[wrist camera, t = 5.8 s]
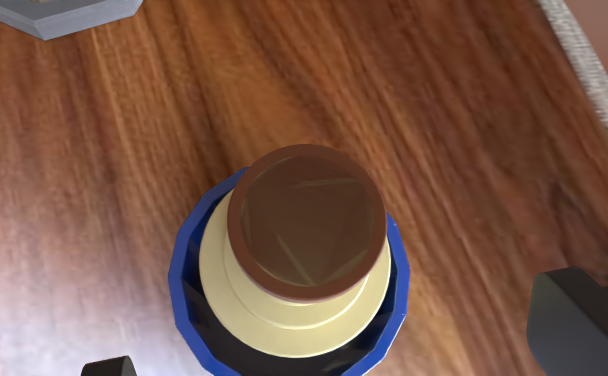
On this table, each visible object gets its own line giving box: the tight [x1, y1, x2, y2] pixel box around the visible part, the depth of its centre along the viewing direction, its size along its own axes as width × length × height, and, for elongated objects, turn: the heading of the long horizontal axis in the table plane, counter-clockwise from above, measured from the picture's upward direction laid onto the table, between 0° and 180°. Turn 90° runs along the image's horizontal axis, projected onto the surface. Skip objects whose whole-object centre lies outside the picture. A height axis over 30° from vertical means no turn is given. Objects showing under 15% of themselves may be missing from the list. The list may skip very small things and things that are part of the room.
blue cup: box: [168, 167, 410, 376], centre depth 24 cm, size 9×9×8 cm
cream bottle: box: [199, 144, 391, 358], centre depth 19 cm, size 6×6×16 cm
